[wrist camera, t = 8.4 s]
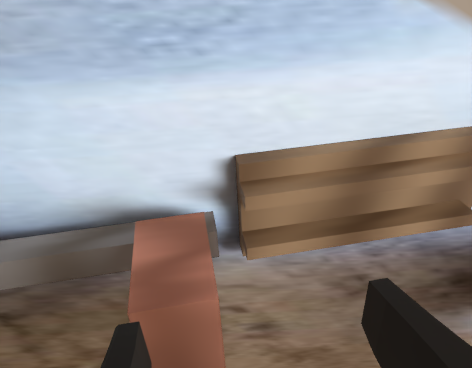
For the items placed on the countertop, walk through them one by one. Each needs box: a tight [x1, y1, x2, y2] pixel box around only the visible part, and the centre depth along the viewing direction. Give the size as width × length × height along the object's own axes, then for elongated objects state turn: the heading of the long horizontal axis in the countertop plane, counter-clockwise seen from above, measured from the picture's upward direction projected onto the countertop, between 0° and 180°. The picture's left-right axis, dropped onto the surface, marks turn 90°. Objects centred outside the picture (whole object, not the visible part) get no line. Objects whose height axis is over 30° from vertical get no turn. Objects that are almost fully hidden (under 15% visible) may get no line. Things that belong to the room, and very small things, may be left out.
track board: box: [235, 127, 472, 260], centre depth 21 cm, size 14×6×2 cm, turn 93°
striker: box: [0, 211, 226, 368], centre depth 16 cm, size 15×8×8 cm, turn 93°
